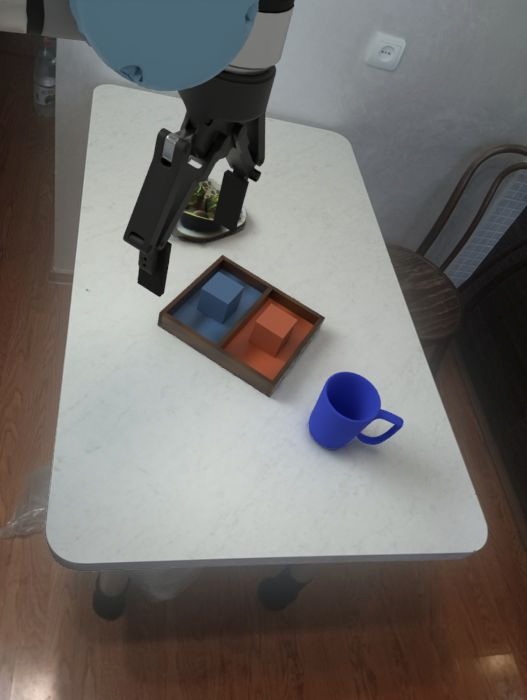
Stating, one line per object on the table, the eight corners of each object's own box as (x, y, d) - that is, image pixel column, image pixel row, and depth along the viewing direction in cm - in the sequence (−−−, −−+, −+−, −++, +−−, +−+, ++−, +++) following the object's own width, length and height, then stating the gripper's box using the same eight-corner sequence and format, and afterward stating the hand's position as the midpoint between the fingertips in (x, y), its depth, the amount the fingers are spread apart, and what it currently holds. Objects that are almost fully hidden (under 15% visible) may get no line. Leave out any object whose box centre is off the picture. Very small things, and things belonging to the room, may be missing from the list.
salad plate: (122, 187, 102) (124, 167, 99) (199, 168, 112) (203, 149, 108) (180, 253, 95) (183, 233, 92) (256, 227, 105) (262, 208, 101)
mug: (371, 476, 78) (402, 444, 70) (295, 442, 78) (317, 407, 70) (381, 431, 83) (411, 396, 75) (309, 399, 83) (332, 362, 75)
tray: (157, 324, 84) (159, 312, 82) (219, 266, 96) (222, 254, 93) (269, 397, 81) (274, 386, 79) (319, 328, 93) (325, 317, 90)
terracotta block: (274, 357, 85) (283, 338, 81) (248, 341, 86) (255, 321, 82) (288, 339, 88) (298, 319, 85) (263, 323, 89) (271, 303, 85)
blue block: (222, 324, 87) (228, 304, 83) (196, 309, 87) (201, 288, 84) (237, 307, 90) (244, 286, 86) (213, 292, 91) (218, 271, 87)
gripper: (268, -3, 49) (224, 188, 66) (75, 73, 34) (80, 299, 50) (338, 33, 48) (275, 218, 64) (173, 130, 33) (145, 342, 49)
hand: (190, 254), depth 57 cm, fingers open, 13 cm apart
